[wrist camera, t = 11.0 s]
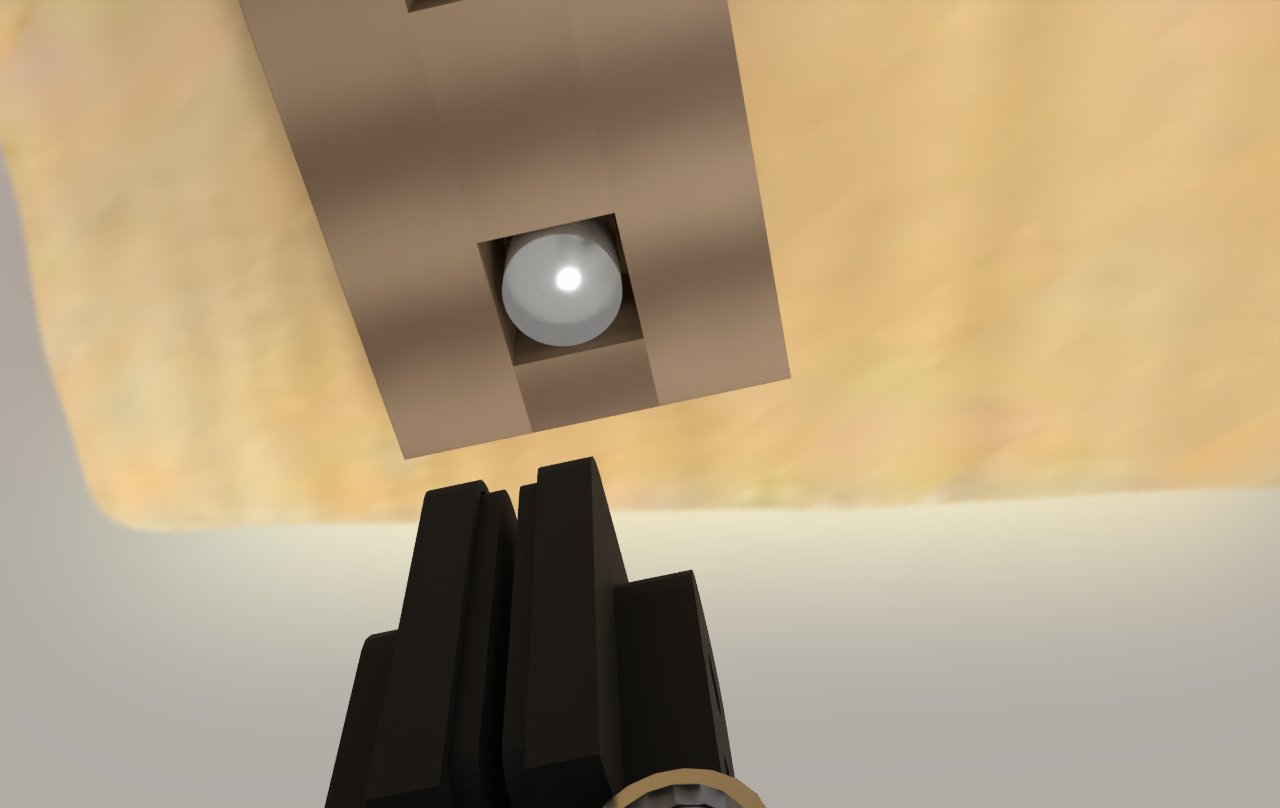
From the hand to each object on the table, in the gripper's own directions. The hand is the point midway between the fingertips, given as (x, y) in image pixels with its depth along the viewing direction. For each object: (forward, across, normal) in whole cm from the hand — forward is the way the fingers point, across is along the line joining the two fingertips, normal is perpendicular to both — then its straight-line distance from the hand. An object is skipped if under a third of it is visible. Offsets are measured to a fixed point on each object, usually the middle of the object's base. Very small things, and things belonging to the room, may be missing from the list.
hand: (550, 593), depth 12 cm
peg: (+33, +2, +8) cm, 34 cm away
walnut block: (+33, +2, +2) cm, 33 cm away
